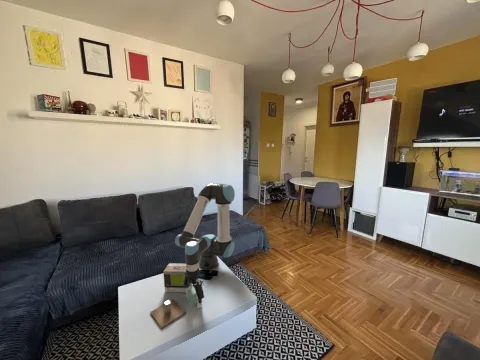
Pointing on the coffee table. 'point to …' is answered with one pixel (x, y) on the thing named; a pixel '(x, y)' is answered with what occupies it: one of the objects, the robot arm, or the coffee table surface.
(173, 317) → the board
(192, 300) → the pale green upright block
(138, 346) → the coffee table surface
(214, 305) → the coffee table surface
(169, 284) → the tea box
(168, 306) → the post
